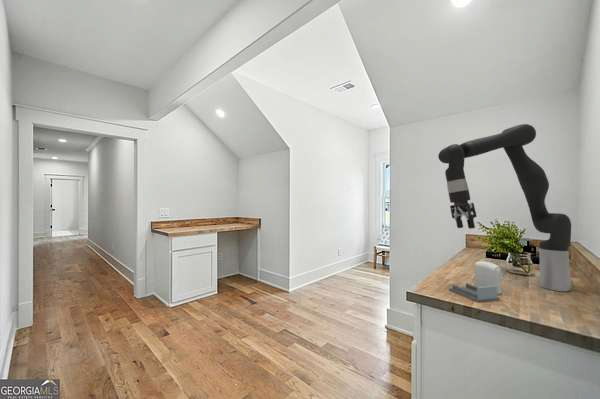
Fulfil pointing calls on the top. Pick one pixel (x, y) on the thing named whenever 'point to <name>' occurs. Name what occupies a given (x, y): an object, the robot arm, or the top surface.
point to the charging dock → (477, 292)
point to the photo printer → (488, 275)
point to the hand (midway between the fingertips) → (465, 228)
